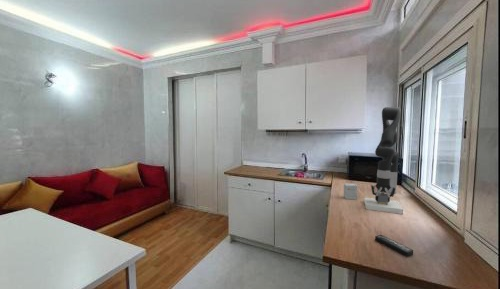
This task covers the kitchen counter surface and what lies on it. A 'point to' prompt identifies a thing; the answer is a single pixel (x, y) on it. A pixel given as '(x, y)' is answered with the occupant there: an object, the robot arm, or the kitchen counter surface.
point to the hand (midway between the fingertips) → (382, 201)
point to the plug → (382, 198)
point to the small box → (350, 191)
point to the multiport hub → (394, 245)
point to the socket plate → (383, 206)
